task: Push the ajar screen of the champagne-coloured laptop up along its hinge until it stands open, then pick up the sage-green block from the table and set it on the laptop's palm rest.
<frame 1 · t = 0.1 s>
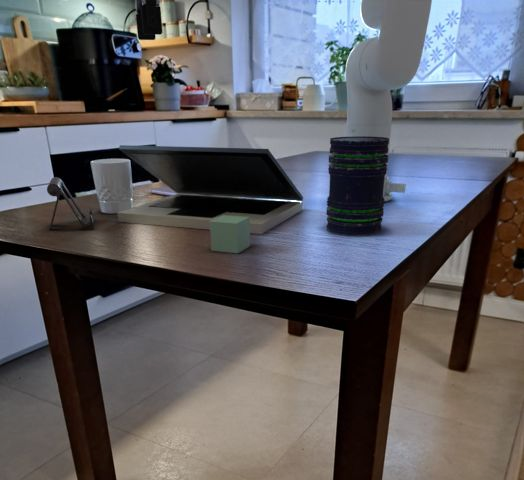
hand: (149, 37, 92), 31 cm above the table, tool pointing down, fingers open, 9 cm apart
storage jar: (353, 230, 92), on the table
mobile phone: (179, 194, 127), on the table
block: (231, 248, 81), on the table
laptop: (213, 215, 103), on the table
laptop screen: (215, 174, 101), point 8 cm above the table, hinge at 30.0°
white cup: (117, 211, 110), on the table
tablet stand: (72, 227, 97), on the table
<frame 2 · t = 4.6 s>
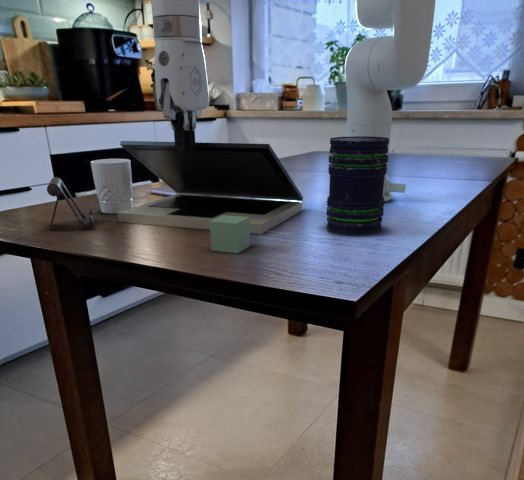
hand: (185, 154, 90), 12 cm above the table, tool pointing down, fingers closed
laptop screen: (216, 172, 102), point 8 cm above the table, hinge at 32.3°, touching gripper
everything else where it was.
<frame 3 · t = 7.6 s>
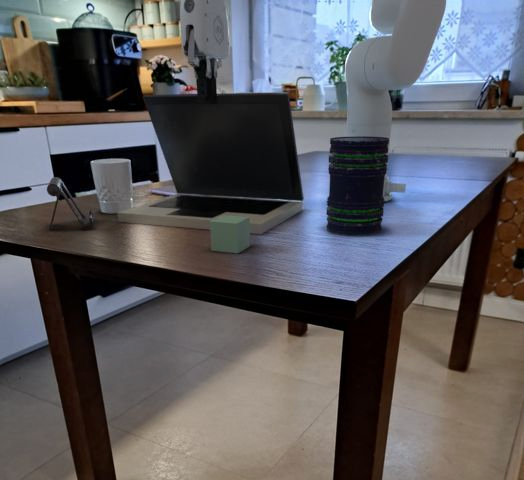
hand: (207, 103, 94), 20 cm above the table, tool pointing down, fingers closed
laptop screen: (225, 149, 104), point 12 cm above the table, hinge at 64.1°, touching gripper
everything else where it was.
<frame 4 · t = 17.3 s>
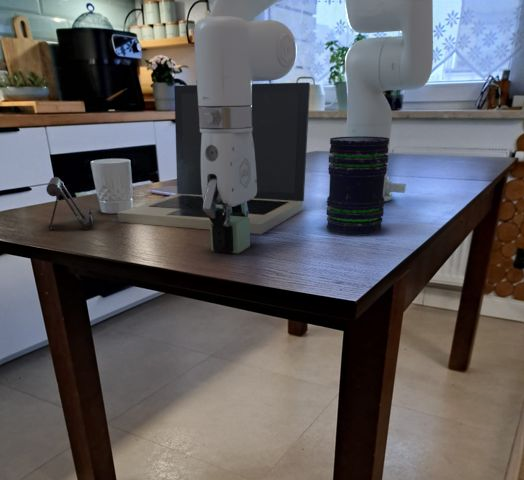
hand: (231, 246, 81), 0 cm above the table, tool pointing down, fingers closed on block, 4 cm apart
block: (231, 248, 81), on the table, touching gripper
laptop screen: (238, 142, 108), point 13 cm above the table, hinge at 96.2°
everything else where it was.
when the fingers open (2 cm above the table, at t = 23.4 s): block stays where it is, resting on laptop.
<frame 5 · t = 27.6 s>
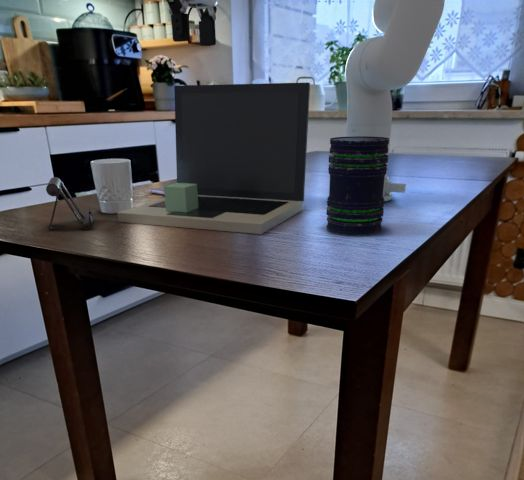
hand: (195, 43, 95), 30 cm above the table, tool pointing down, fingers open, 9 cm apart
block: (182, 209, 100), point 2 cm above the table, touching laptop
everything else where it was.
at the end: laptop screen at +96° (first picture: +30°); block inside the target area on the laptop (6.2 cm from its centre), point 1.9 cm above the laptop's base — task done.
